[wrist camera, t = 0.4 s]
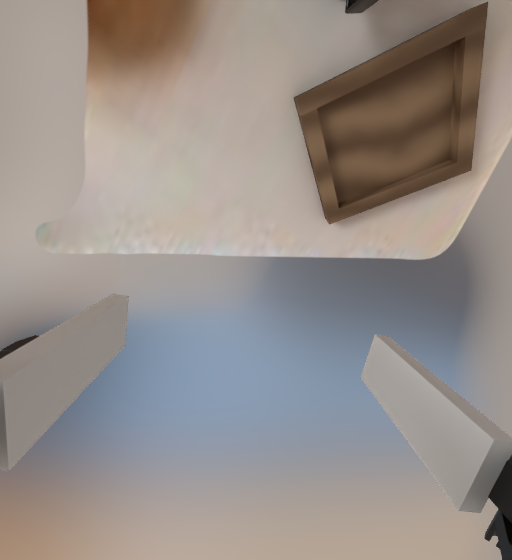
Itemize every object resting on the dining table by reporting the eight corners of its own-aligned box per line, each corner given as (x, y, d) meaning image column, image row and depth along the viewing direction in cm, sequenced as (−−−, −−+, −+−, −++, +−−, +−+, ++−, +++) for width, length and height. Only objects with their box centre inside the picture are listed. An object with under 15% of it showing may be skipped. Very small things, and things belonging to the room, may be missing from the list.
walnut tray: (293, 97, 32) (296, 97, 30) (470, 8, 28) (488, 1, 26) (325, 218, 42) (329, 224, 40) (459, 166, 38) (471, 170, 36)
